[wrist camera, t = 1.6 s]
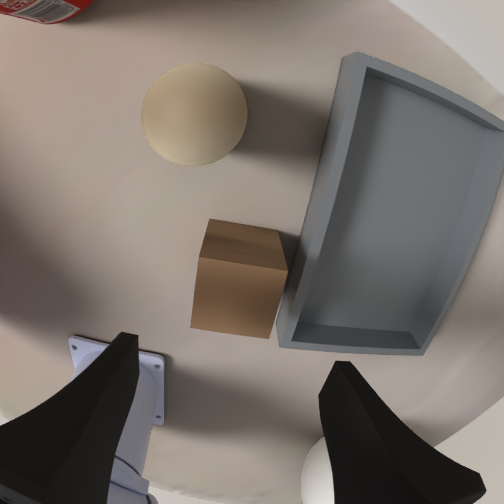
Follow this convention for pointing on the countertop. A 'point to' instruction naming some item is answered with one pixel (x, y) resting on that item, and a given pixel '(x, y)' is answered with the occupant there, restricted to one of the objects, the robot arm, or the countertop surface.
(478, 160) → the tray
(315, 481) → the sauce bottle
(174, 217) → the countertop surface
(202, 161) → the maple dowel
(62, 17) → the beverage can
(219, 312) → the walnut block
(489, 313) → the countertop surface
